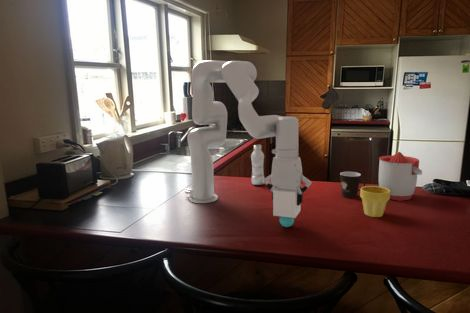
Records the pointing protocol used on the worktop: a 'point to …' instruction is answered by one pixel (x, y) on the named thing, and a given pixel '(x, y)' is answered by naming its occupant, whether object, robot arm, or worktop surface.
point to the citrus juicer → (399, 175)
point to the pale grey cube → (285, 202)
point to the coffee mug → (350, 184)
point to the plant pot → (374, 200)
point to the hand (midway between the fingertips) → (287, 202)
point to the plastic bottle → (257, 166)
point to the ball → (286, 221)
